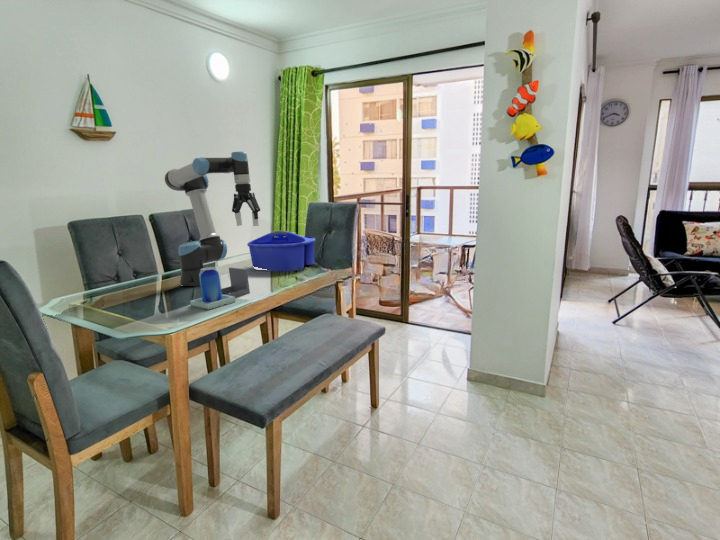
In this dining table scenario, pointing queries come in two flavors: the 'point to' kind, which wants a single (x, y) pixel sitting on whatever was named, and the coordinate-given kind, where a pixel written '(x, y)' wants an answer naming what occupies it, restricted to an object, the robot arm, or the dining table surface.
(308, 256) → the caddy
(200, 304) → the tray
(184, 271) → the robot arm
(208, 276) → the beer can
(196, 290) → the dining table surface
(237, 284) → the bay
